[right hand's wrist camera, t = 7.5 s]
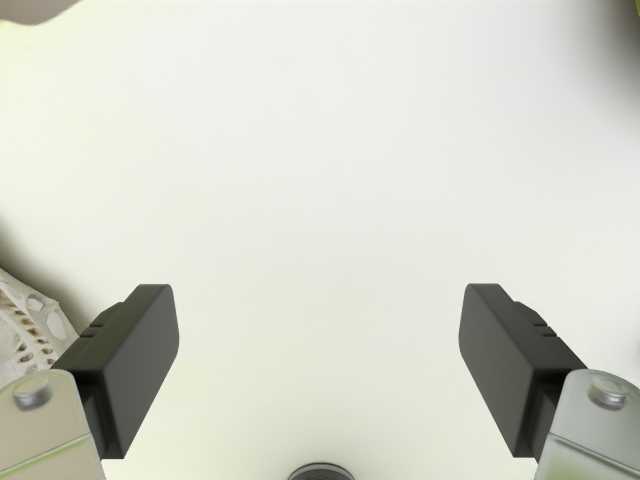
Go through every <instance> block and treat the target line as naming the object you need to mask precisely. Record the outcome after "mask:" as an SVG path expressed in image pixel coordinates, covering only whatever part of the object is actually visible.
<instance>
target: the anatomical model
mask: <svg viewBox="0 0 640 480" xmlns="http://www.w3.org/2000/svg"><path fill="white" fill-rule="evenodd" d="M77 338H80V337H79V336H78V334H77V333H76V331H75V330H74V328H73V326H72V325H71V323H70V322H69V320H68V319H67V317H66V316H65V314H64V313H63V311H62V310H61V308H60V306H59V302H57V301H56V300H54V299H51V298H48V297H47V296H45V295H43V294H41V293H40V292H38V291H36V290H34V289H33V288H31V287H29V286H27V285H25V284H24V283H22V282H20V281H19V280H17V279H15V278H14V277H12V276H11V275H10V274H8V273H7V272H5V271H4V270H2V269H1V268H0V389H1V388H3V387H4V386H6V385H7V384H9V383H10V382H12V381H14V380H16V379H18V378H20V377H22V376H25V375H27V374H30V373H33V372H36V371H41V370H47V369H49V368H50V367H51V366H52V365H53V360H55V361H57V360H58V359H59V357H60V356H61V355H62V354H63V353H64V352H65V351H66V350H67V349H68V348H69V347H70V346H71V345H72V343H73V342H74V341H75V340H76V339H77ZM24 347H25V348H24ZM51 349H52V350H53V351H52V350H51ZM28 355H29V359H26V358H24V357H25V356H28ZM35 364H36V366H37V369H35V370H33V371H32V370H31V368H32V367H33V366H34V365H35Z"/></svg>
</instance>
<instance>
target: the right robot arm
mask: <svg viewBox="0 0 640 480" xmlns="http://www.w3.org/2000/svg"><path fill="white" fill-rule="evenodd" d="M178 347H179V330H178V323H177V316H176V310H175V303H174V296H173V291H172V288H171V286H170V285H169V284H140V285H138V286H137V287H136V289H135V290H134V291H133V292H132V293H131V294H130V295H129V297H128V298H127V299H126V300H125V301H124V302H118V303H117V304H115V305H113V306H112V307H110V308H108V309H106V310H105V311H103V312H101V313H100V314H99V315H98V317H97V318H96V319H95V320H94V321H93V322H92V323H91V324H90V327H87V328H86V329H85V331H84V332H83V333H82V334H81V335H80V338H77V339H76V340H75V341H74V342H73V343H72V345H71V346H70V347H69V348H68V349H67V350H66V351H65V352H64V353H63V354H62V355H61V356H60V357H59V359H58V360H57V361H56V362H55V363H54V364H53V365H52V366H51V367H50V368H49V369H47V370H41V371H36V372H33V373H30V374H27V375H25V376H22V377H20V378H18V379H16V380H14V381H12V382H10V383H9V384H7V385H6V386H4V387H3V388H1V389H0V480H106V478H105V474H104V471H103V468H102V465H101V460H102V459H124V457H125V455H126V453H127V451H128V449H129V447H130V445H131V443H132V441H133V439H134V437H135V436H136V434H137V432H138V430H139V428H140V426H141V424H142V422H143V420H144V418H145V416H146V414H147V412H148V410H149V408H150V406H151V404H152V402H153V401H154V399H155V397H156V395H157V393H158V391H159V389H160V387H161V385H162V383H163V381H164V379H165V377H166V375H167V373H168V371H169V369H170V367H171V366H172V364H173V362H174V360H175V358H176V355H177V352H178ZM459 347H460V352H461V355H462V357H463V359H464V361H465V363H466V365H467V367H468V369H469V371H470V373H471V375H472V377H473V379H474V381H475V383H476V385H477V387H478V389H479V391H480V393H481V395H482V397H483V399H484V401H485V403H486V405H487V406H488V408H489V410H490V412H491V414H492V416H493V418H494V420H495V422H496V424H497V426H498V428H499V430H500V432H501V434H502V436H503V438H504V440H505V442H506V444H507V446H508V448H509V450H510V452H511V454H512V456H513V458H535V460H536V461H537V463H538V468H537V471H536V474H535V478H534V480H640V389H639V388H637V387H636V386H634V385H633V384H631V383H630V382H628V381H626V380H624V379H622V378H620V377H618V376H615V375H613V374H610V373H607V372H604V371H599V370H593V369H588V368H587V367H586V365H585V364H584V363H583V362H582V361H581V360H580V359H579V358H578V357H577V356H576V355H575V354H574V352H573V351H572V350H571V349H570V348H569V347H568V346H567V345H566V344H565V343H564V342H563V340H562V339H561V338H560V337H557V334H556V333H555V332H554V331H553V330H552V329H551V327H548V326H547V323H546V322H545V321H544V320H543V319H542V318H541V317H540V315H539V314H538V313H537V312H536V311H534V310H532V309H530V308H529V307H527V306H525V305H524V304H522V303H520V302H514V301H513V300H512V299H511V298H510V297H509V295H508V294H507V293H506V292H505V291H504V290H503V288H502V287H501V286H500V285H499V284H468V285H467V287H466V289H465V294H464V301H463V308H462V315H461V321H460V328H459ZM288 480H354V479H353V477H352V476H351V475H350V474H349V473H348V472H347V471H345V470H343V469H342V468H339V467H337V466H334V465H329V464H313V465H308V466H305V467H303V468H300V469H299V470H297V471H296V472H294V473H293V474H292V475H291V476H290V478H289V479H288Z"/></svg>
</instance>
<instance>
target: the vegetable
mask: <svg viewBox="0 0 640 480" xmlns="http://www.w3.org/2000/svg"><path fill="white" fill-rule="evenodd" d="M635 1H636V6H637V11H638V15H639V18H640V0H635Z"/></svg>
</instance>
